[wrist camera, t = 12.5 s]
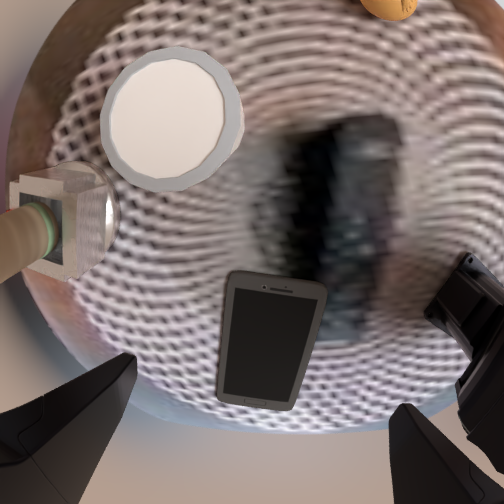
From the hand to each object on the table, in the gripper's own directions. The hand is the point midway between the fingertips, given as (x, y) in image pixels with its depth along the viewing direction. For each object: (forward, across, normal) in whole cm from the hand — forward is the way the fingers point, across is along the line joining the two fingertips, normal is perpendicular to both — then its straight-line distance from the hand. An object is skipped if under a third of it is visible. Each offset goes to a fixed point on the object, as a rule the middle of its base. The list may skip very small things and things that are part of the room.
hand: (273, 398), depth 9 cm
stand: (+13, +16, 0) cm, 20 cm away
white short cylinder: (+13, +7, -8) cm, 17 cm away
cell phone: (+14, -1, +8) cm, 16 cm away
